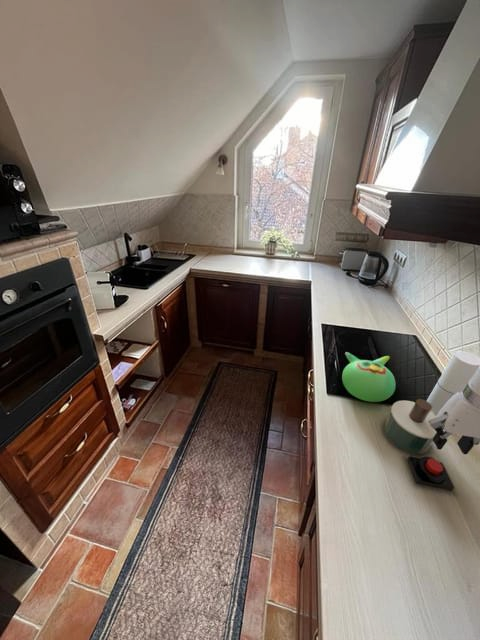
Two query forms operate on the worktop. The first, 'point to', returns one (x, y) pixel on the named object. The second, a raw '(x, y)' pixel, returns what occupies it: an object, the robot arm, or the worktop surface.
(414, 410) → the lid
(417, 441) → the jar
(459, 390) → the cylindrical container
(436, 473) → the button
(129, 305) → the worktop surface
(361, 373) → the toy bird
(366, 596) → the worktop surface
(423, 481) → the block
